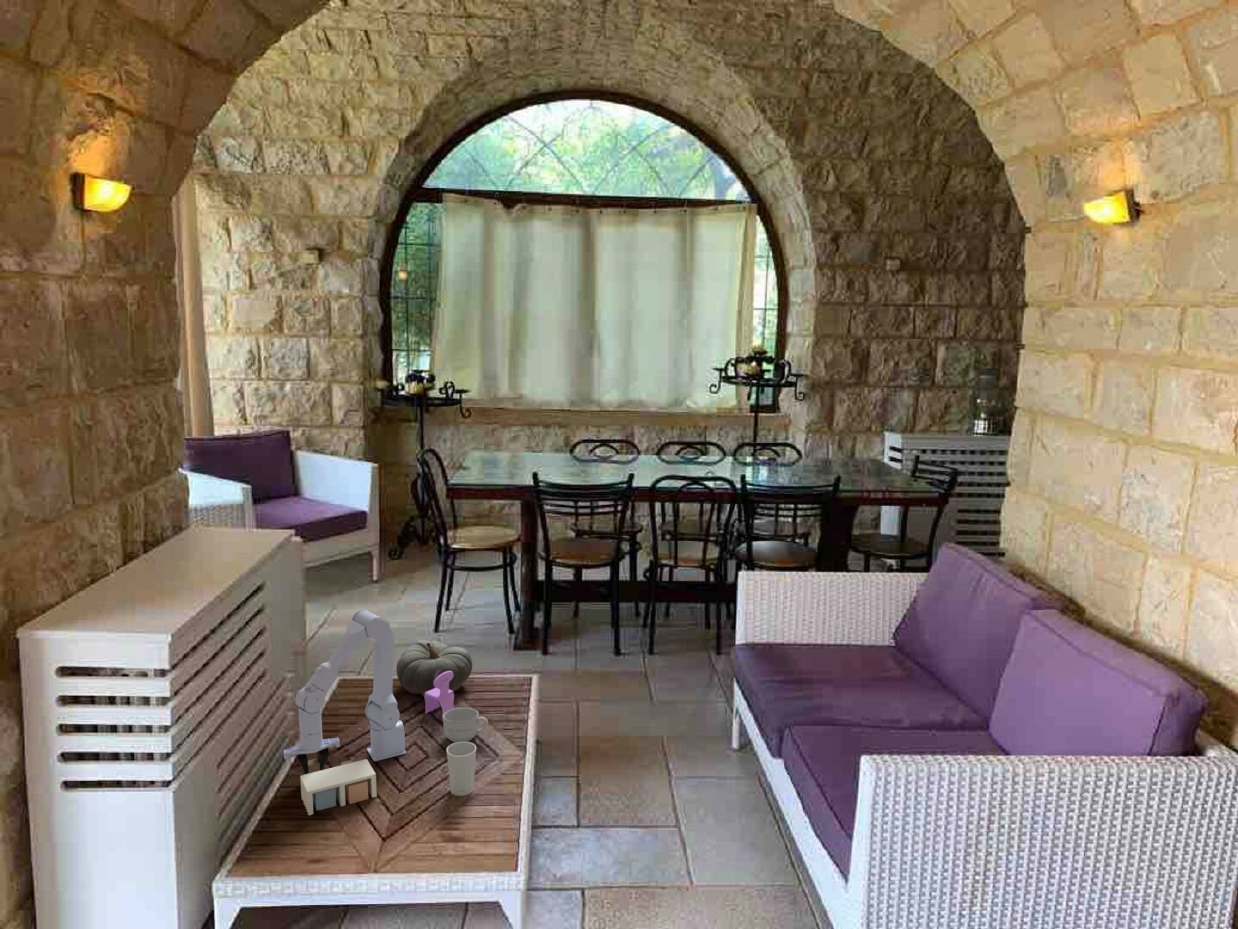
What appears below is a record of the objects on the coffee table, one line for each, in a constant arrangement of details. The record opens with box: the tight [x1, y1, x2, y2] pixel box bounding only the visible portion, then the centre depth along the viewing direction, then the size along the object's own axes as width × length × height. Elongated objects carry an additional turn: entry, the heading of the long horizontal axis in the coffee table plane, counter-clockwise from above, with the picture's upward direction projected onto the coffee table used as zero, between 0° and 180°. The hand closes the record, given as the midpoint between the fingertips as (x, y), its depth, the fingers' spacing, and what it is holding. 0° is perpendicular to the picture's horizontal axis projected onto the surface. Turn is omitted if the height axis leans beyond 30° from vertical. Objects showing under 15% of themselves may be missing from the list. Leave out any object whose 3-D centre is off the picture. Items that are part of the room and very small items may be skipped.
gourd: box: [396, 639, 473, 697], centre depth 296 cm, size 25×25×17 cm
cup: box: [445, 741, 477, 797], centre depth 234 cm, size 8×8×12 cm
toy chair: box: [423, 671, 455, 721], centre depth 278 cm, size 8×9×15 cm
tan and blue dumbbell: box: [308, 758, 337, 812], centre depth 232 cm, size 5×17×6 cm, turn 31°
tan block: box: [340, 759, 369, 805], centre depth 234 cm, size 5×12×6 cm, turn 31°
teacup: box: [442, 707, 489, 743], centre depth 262 cm, size 14×11×8 cm
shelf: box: [299, 758, 378, 816], centre depth 230 cm, size 18×9×7 cm, turn 121°
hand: (313, 776), depth 238 cm, fingers closed on tan and blue dumbbell, 3 cm apart
